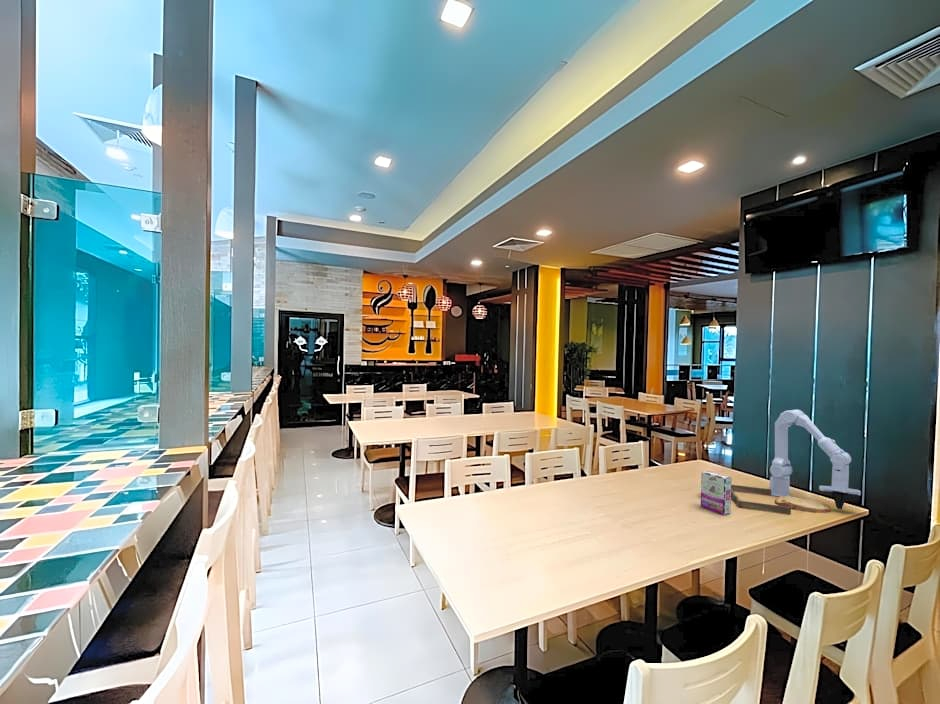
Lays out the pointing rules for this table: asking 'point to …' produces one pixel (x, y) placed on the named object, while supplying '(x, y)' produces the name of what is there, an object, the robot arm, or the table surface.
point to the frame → (757, 505)
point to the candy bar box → (716, 492)
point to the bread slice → (802, 504)
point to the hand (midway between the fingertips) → (838, 508)
